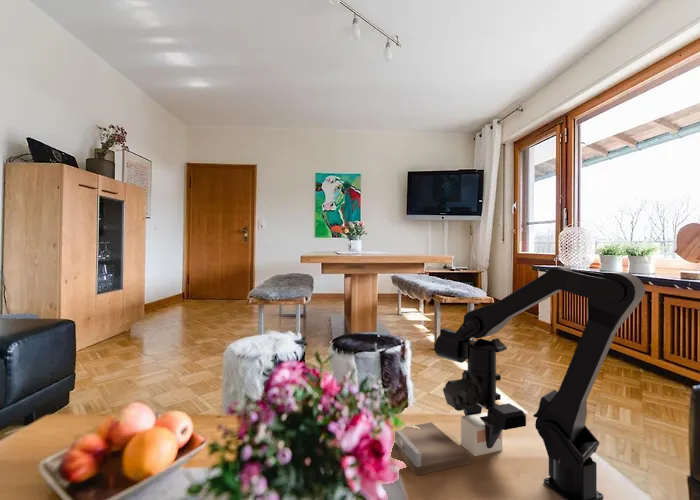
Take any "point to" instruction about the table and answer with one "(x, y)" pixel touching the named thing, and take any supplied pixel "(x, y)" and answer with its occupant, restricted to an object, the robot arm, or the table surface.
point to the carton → (477, 435)
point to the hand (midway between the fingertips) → (481, 441)
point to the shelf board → (428, 449)
